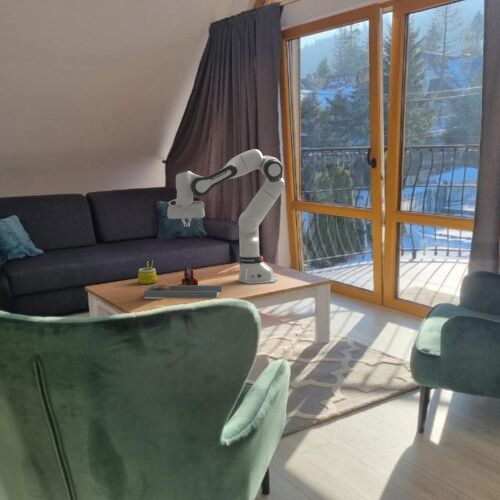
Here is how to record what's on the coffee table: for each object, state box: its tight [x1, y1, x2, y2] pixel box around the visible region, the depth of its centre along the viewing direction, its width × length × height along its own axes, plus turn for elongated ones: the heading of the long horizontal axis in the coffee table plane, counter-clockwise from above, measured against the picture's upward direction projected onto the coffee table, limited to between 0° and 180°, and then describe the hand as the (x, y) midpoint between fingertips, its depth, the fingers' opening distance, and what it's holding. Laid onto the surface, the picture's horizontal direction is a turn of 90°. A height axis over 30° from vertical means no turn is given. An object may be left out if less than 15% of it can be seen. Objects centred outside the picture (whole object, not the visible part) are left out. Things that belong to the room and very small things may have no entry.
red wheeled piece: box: [180, 266, 199, 286], centre depth 317 cm, size 7×12×10 cm, turn 24°
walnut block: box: [152, 284, 171, 291], centre depth 299 cm, size 8×6×4 cm
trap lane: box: [143, 284, 222, 300], centre depth 297 cm, size 38×12×4 cm, turn 81°
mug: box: [137, 260, 158, 285], centre depth 329 cm, size 13×11×12 cm
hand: (186, 226), depth 313 cm, fingers closed
